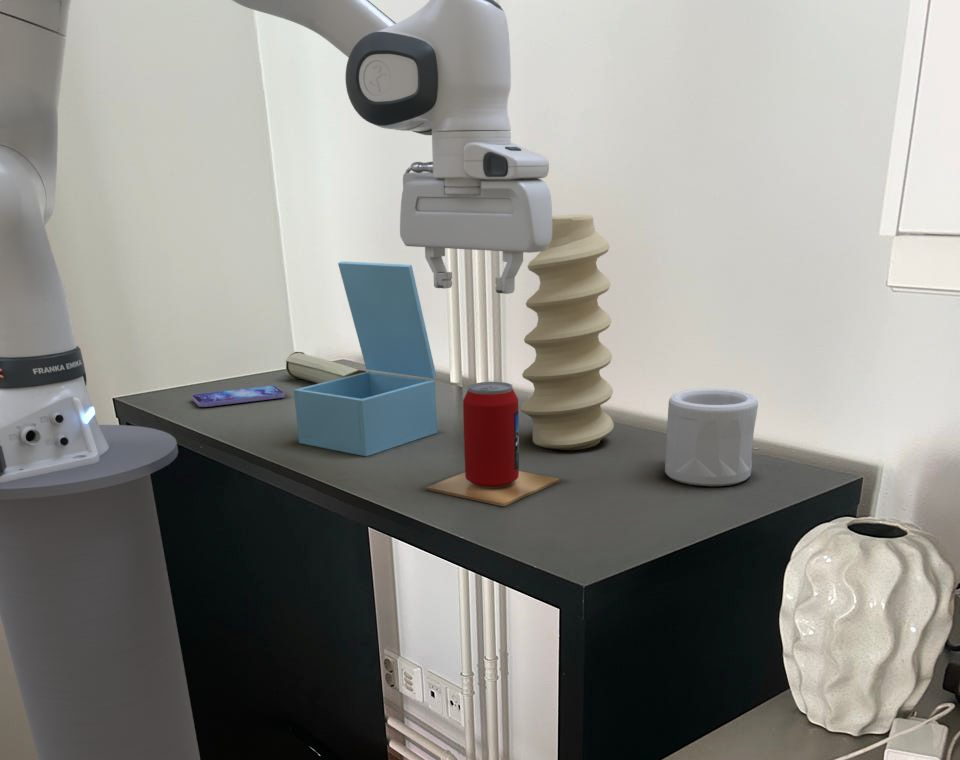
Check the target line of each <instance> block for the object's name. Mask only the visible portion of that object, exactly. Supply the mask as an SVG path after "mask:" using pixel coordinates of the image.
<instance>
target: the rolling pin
mask: <svg viewBox="0 0 960 760" xmlns="http://www.w3.org/2000/svg"><path fill="white" fill-rule="evenodd" d="M285 369H286V371H287V373H288V375H290V376H291V377H292V378H294V379H302V380H305V381H309V382H312V383H315V384H319V383H323V382H327V381H331V380H335V379H340V378H344V377H348V376H352V375H356V374H360V373H364V372H367V371H366V370H362V369H357V368H354V367H352V366H348V365H345V364H341V363H338V362H335V361H331V360H328V359H325V358H322V357H321V358H320V357H317V356H313V355H309V354H306V353H305V352H303V351H293V353H290V354H289V356H288V357H287V358H286V359H285Z"/></svg>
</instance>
